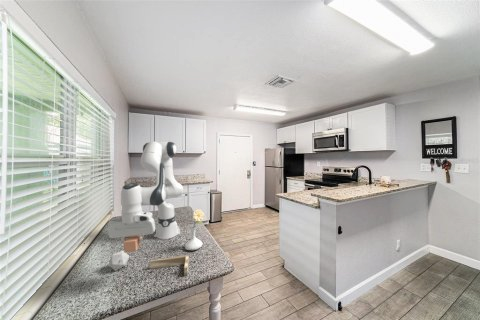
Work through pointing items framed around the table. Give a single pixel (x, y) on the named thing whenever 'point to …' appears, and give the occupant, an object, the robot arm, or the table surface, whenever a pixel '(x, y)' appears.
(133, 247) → the block
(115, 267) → the die
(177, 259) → the wooden corner bracket
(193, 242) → the flower in vase
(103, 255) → the table surface
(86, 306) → the table surface
